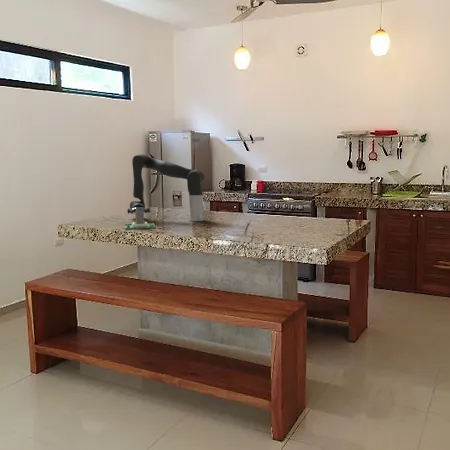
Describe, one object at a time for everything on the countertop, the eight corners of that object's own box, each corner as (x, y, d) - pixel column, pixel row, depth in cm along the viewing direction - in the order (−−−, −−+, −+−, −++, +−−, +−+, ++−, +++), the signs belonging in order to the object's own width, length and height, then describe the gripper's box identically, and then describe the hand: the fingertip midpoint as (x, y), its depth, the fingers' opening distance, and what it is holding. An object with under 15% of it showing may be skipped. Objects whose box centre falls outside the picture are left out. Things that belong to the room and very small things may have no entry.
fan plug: (144, 224, 316) (143, 207, 315) (144, 225, 312) (143, 208, 311) (135, 225, 316) (135, 207, 314) (135, 226, 311) (135, 208, 310)
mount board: (153, 225, 323) (153, 220, 322) (155, 228, 309) (155, 223, 308) (125, 226, 319) (124, 221, 319) (125, 229, 306) (124, 224, 305)
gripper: (127, 203, 337) (127, 206, 322) (148, 202, 340) (150, 205, 324) (127, 215, 338) (127, 218, 323) (149, 214, 341) (150, 217, 325)
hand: (139, 211), depth 324 cm, fingers open, 8 cm apart
